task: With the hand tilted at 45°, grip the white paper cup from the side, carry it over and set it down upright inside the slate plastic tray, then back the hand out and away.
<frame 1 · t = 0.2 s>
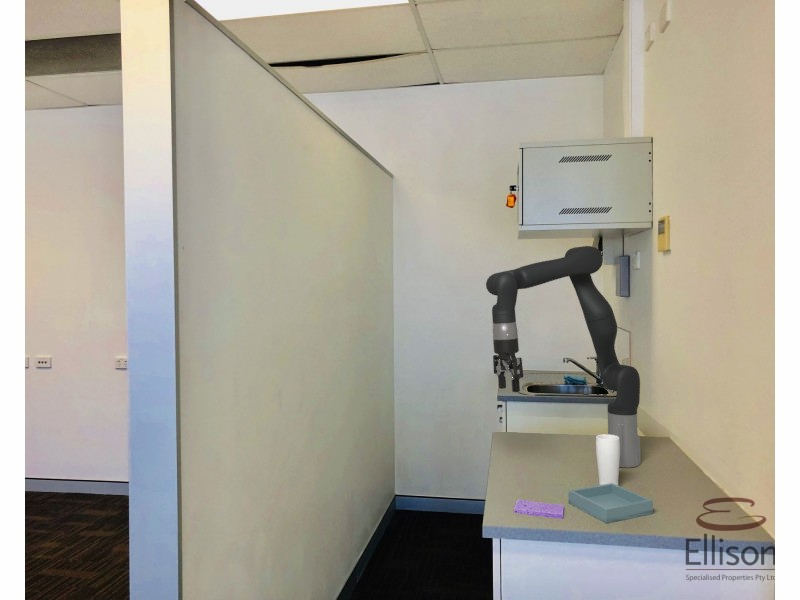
hand: (509, 390, 173), 28 cm above the counter, tool pointing down, fingers open, 8 cm apart
tray: (609, 508, 151), on the counter
white paper cup: (608, 488, 167), on the counter
sponges: (539, 514, 150), on the counter
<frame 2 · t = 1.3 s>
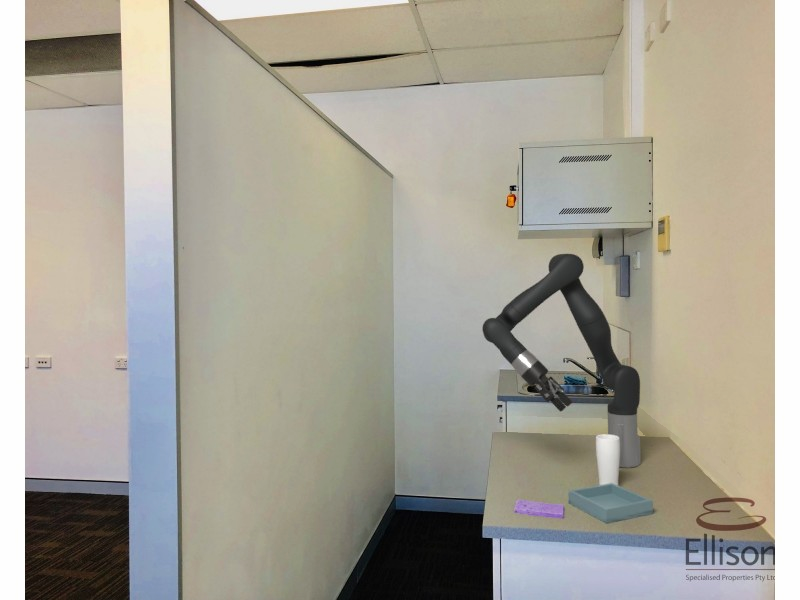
hand: (566, 407, 172), 23 cm above the counter, tool tilted 45°, fingers open, 8 cm apart
nothing on the counter moved.
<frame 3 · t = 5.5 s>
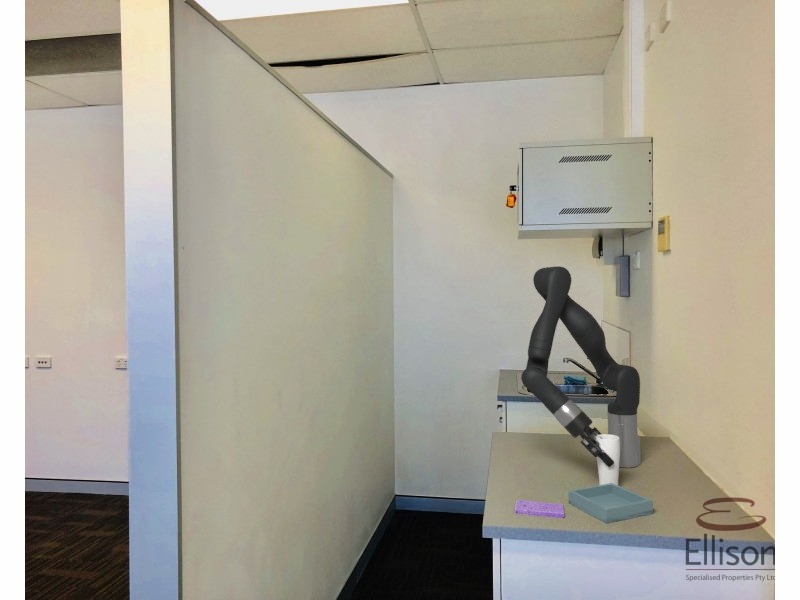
hand: (613, 461, 166), 8 cm above the counter, tool tilted 45°, fingers closed on white paper cup, 6 cm apart
white paper cup: (608, 488, 167), on the counter, touching gripper
everything else where it was.
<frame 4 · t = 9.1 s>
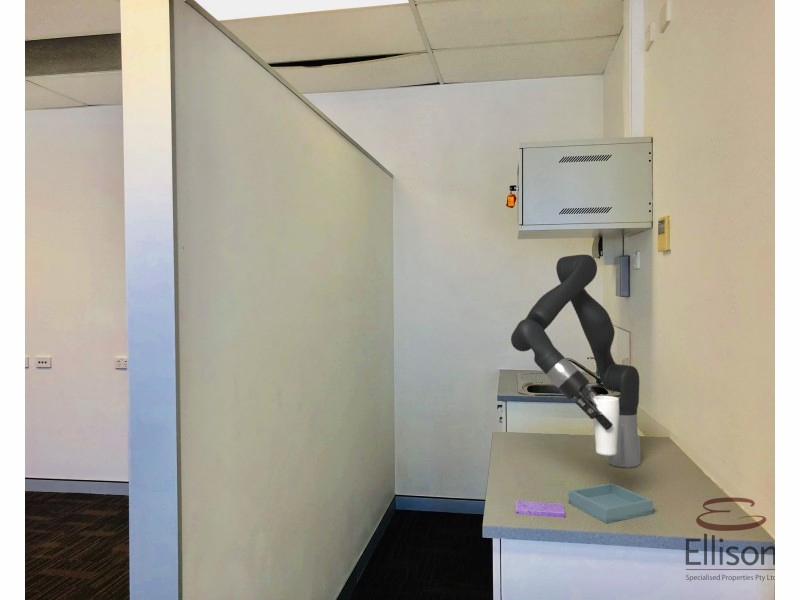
hand: (612, 424, 150), 22 cm above the counter, tool tilted 45°, fingers closed on white paper cup, 6 cm apart
white paper cup: (606, 454, 151), point 14 cm above the counter, touching gripper
everything else where it was.
when the fingers open (10 cm above the counter, at t = 12.7 s): white paper cup drops 1 cm, resting on tray.
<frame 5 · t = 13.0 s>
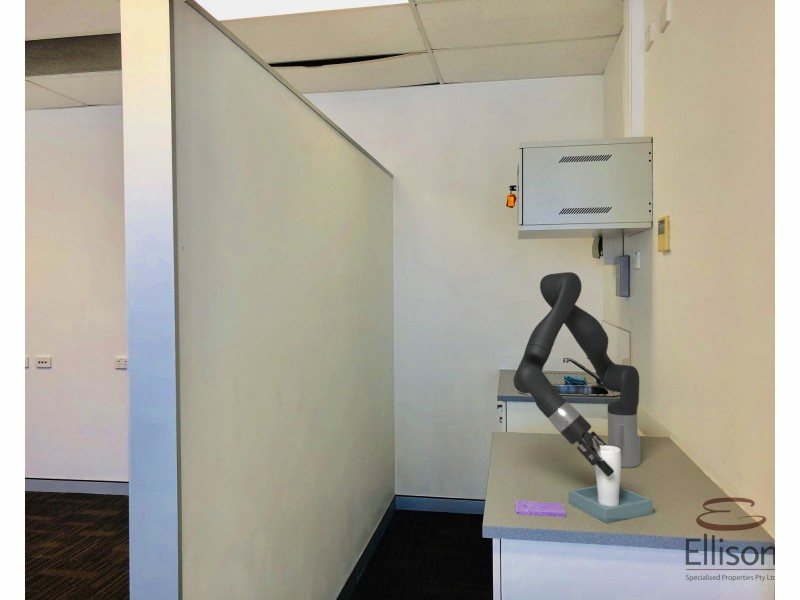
hand: (614, 469, 150), 11 cm above the counter, tool tilted 45°, fingers open, 8 cm apart
white paper cup: (608, 505, 151), point 1 cm above the counter, touching tray
everything else where it was.
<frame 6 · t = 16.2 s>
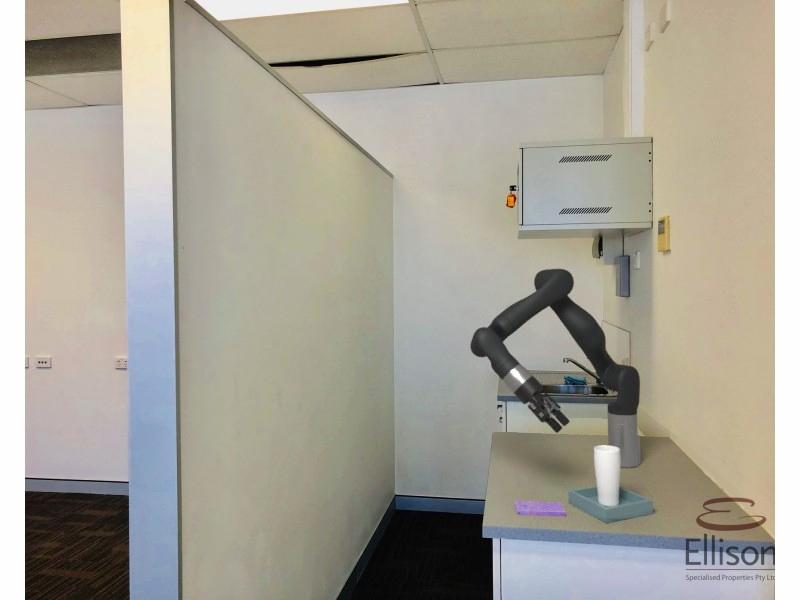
hand: (563, 427, 156), 21 cm above the counter, tool tilted 45°, fingers open, 8 cm apart
nothing on the counter moved.
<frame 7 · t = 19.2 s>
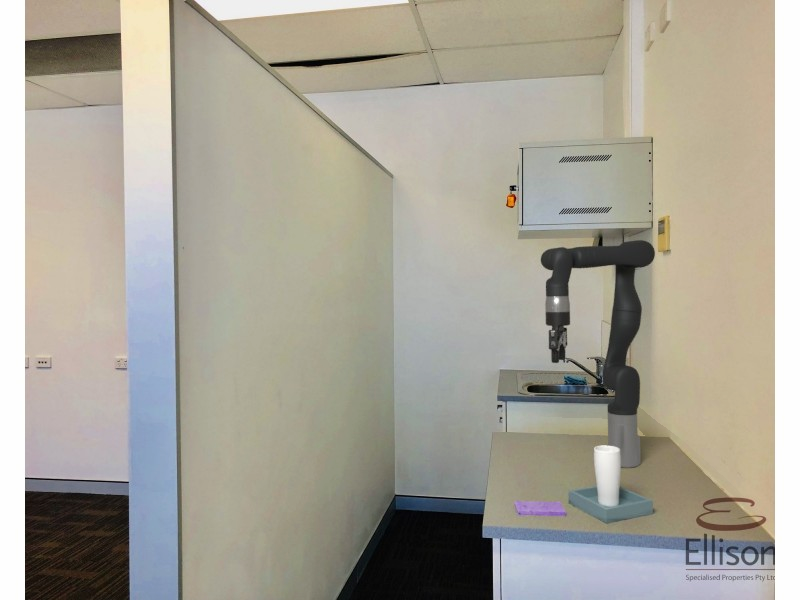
hand: (558, 361, 180), 36 cm above the counter, tool pointing down, fingers open, 8 cm apart
at the end: white paper cup inside the target area on the tray (0.3 cm from its centre), point 0.8 cm above the tray's base; white paper cup tilted 0°; the gripper is holding nothing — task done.
